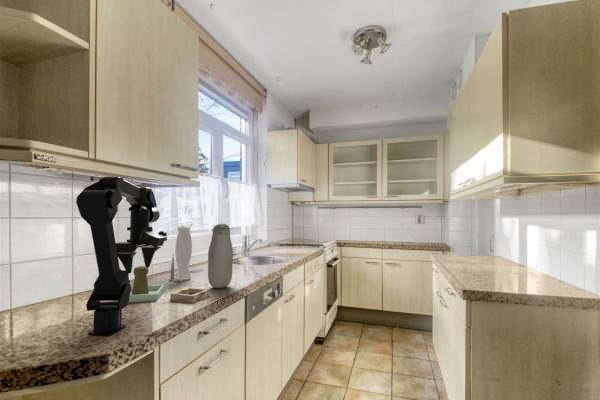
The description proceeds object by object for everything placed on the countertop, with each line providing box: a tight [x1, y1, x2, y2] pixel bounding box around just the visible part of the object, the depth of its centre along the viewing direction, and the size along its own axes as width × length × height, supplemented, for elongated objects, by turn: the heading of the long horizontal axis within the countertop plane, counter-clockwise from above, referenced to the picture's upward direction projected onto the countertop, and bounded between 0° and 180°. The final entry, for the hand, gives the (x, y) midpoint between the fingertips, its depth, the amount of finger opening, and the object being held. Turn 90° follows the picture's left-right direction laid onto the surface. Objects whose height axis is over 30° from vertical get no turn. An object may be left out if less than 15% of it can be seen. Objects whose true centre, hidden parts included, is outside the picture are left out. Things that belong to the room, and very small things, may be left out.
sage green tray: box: [110, 284, 166, 304], centre depth 114 cm, size 15×15×2 cm
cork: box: [132, 265, 149, 295], centre depth 115 cm, size 6×6×11 cm
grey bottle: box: [207, 223, 234, 289], centre depth 130 cm, size 10×10×28 cm
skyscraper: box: [169, 221, 193, 283], centre depth 145 cm, size 8×8×28 cm
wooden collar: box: [169, 287, 210, 304], centre depth 113 cm, size 10×10×2 cm
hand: (138, 270), depth 100 cm, fingers open, 9 cm apart
